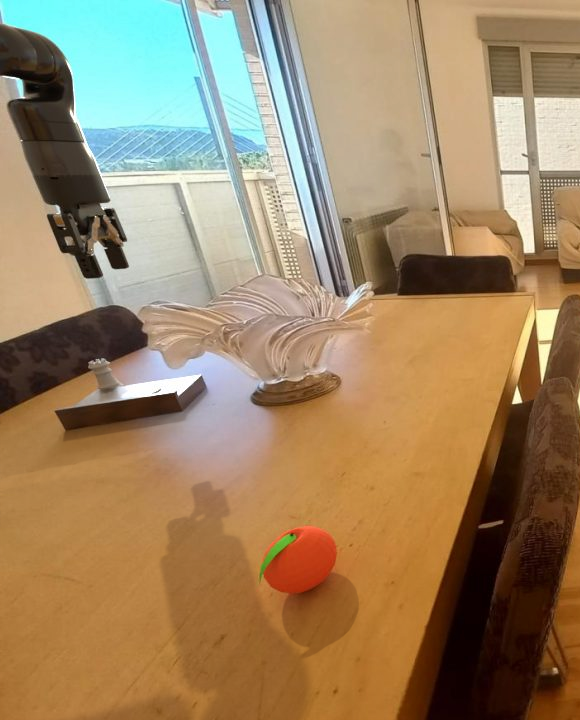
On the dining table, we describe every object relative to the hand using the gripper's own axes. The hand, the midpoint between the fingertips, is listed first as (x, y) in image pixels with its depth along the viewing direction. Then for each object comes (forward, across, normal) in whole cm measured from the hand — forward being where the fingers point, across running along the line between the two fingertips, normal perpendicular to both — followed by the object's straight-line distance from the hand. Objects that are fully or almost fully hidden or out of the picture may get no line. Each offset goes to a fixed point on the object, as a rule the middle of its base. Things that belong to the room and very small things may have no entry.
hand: (108, 273), depth 82 cm
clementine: (+28, +59, +33) cm, 73 cm away
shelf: (+28, -8, -7) cm, 30 cm away
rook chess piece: (+29, -18, -16) cm, 37 cm away
